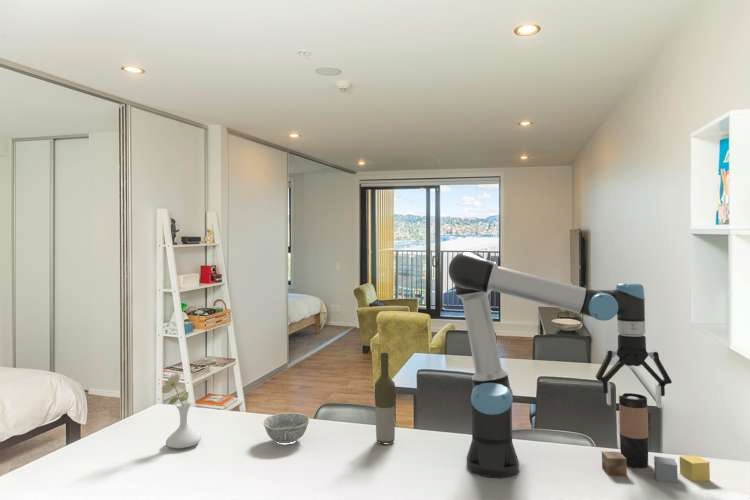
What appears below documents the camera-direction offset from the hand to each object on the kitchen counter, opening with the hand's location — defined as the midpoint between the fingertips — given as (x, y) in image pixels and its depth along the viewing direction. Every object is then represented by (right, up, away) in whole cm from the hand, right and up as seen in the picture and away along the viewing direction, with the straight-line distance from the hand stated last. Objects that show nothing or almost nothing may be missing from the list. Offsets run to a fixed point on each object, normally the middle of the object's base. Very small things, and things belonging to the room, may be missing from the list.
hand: (633, 405), depth 148 cm
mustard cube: (+12, -17, -10) cm, 23 cm away
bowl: (-108, -19, +21) cm, 112 cm away
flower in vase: (-143, -20, +18) cm, 146 cm away
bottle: (-74, -19, +19) cm, 79 cm away
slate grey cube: (+3, -17, -11) cm, 21 cm away
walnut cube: (-9, -17, -6) cm, 20 cm away
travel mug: (0, -18, 0) cm, 18 cm away
